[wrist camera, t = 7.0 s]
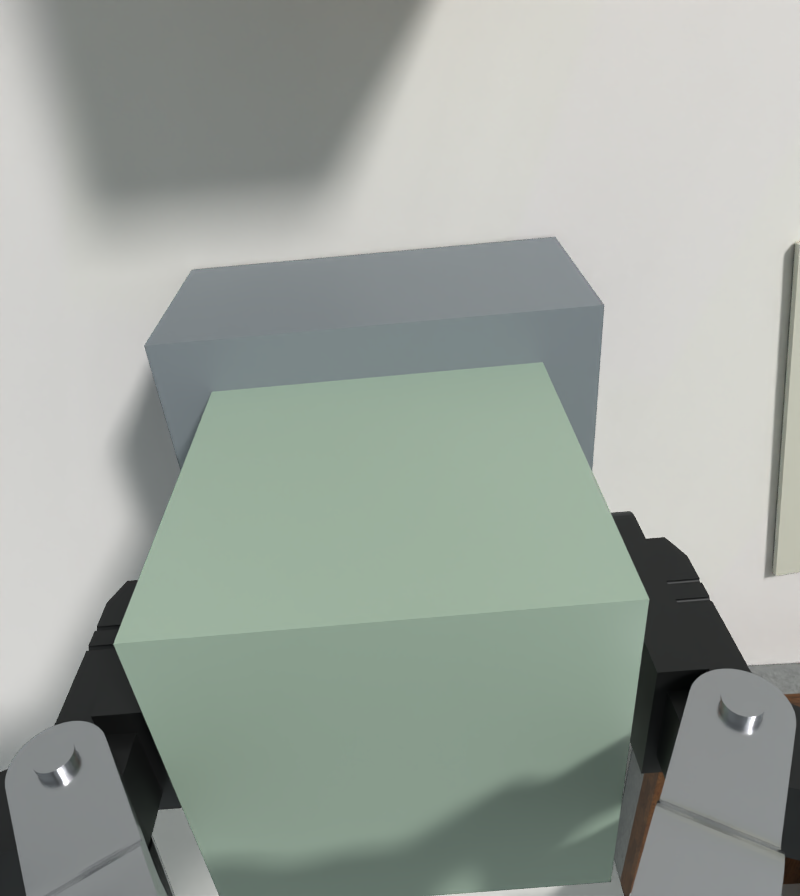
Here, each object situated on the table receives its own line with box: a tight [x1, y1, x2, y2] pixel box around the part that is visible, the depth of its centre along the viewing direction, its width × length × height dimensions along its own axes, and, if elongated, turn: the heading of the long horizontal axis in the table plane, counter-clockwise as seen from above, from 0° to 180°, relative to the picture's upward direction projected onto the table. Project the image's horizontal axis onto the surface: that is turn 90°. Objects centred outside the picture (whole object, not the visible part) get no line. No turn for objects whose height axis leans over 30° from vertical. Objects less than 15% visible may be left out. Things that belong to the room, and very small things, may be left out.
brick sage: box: [113, 362, 649, 896], centre depth 12 cm, size 6×6×6 cm
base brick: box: [144, 237, 604, 471], centre depth 17 cm, size 8×8×4 cm
